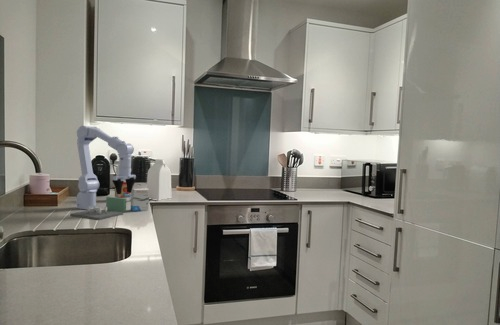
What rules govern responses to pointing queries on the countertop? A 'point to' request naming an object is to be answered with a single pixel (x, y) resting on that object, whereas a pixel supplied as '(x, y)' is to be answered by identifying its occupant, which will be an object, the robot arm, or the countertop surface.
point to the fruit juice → (124, 189)
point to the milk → (159, 181)
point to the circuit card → (116, 204)
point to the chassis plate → (96, 213)
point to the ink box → (139, 197)
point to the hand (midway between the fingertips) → (124, 193)
